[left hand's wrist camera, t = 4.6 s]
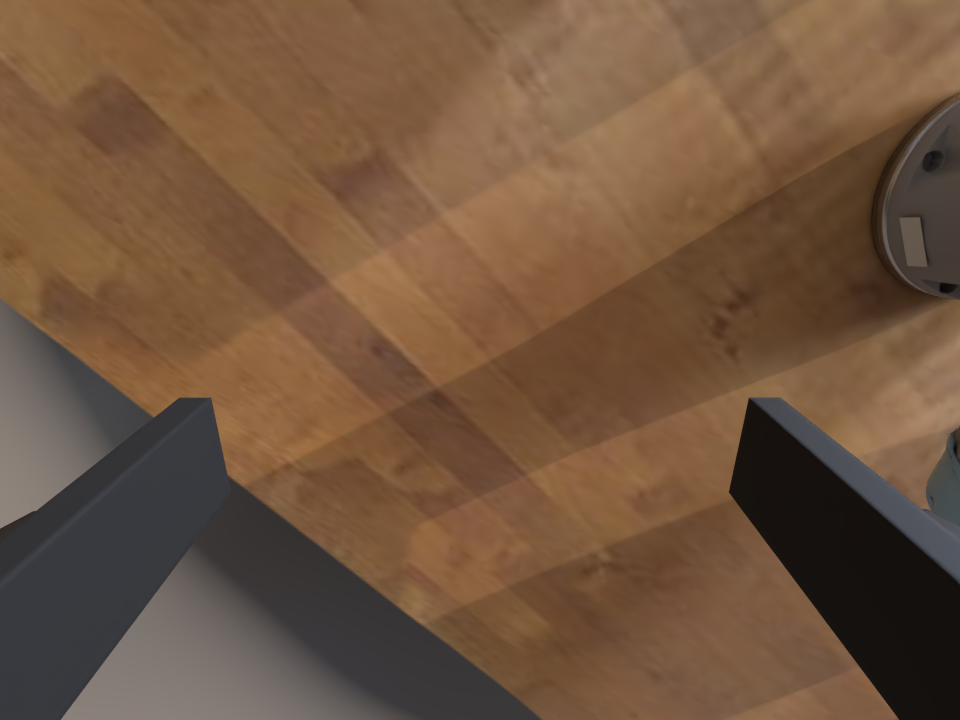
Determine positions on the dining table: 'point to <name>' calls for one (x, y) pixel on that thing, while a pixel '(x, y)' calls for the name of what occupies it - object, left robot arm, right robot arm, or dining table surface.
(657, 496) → the dining table surface
